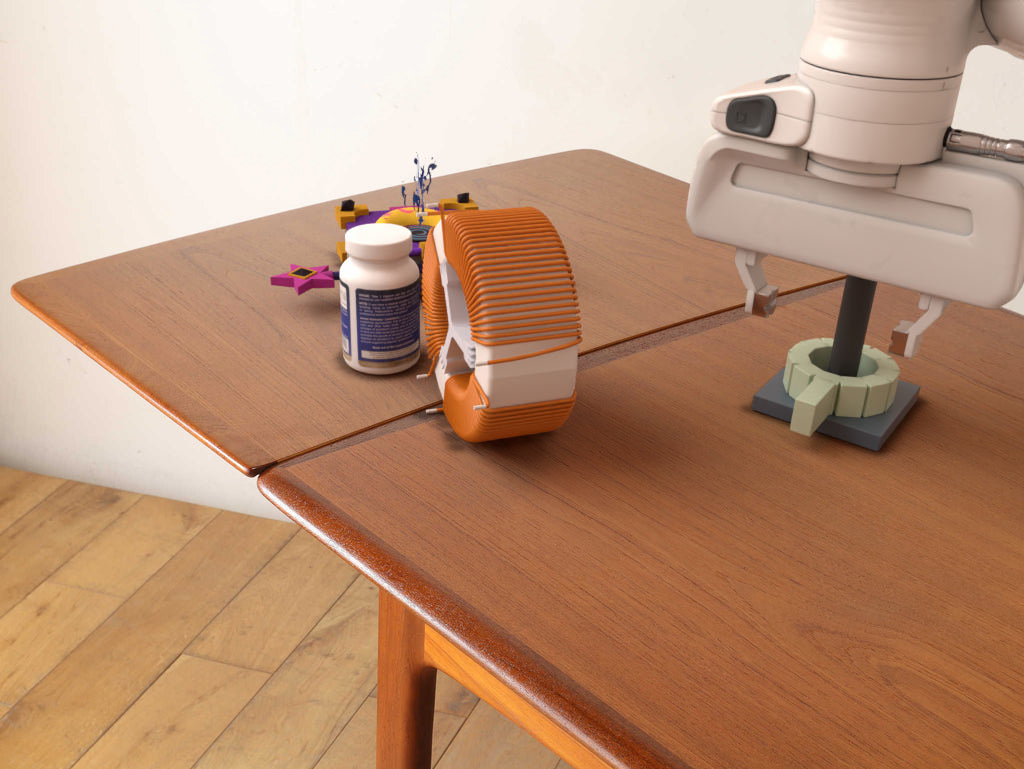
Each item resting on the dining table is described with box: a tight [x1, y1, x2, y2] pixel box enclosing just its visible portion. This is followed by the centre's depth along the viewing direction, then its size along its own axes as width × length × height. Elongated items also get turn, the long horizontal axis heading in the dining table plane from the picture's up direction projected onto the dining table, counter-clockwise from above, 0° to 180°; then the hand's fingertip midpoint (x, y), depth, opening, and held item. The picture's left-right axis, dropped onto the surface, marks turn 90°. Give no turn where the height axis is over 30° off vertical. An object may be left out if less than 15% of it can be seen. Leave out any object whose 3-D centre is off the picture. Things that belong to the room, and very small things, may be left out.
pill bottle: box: [339, 223, 421, 375], centre depth 76 cm, size 6×6×10 cm
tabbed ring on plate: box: [783, 337, 901, 438], centre depth 72 cm, size 7×11×2 cm
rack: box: [751, 274, 922, 452], centre depth 72 cm, size 9×9×11 cm
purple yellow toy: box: [269, 151, 480, 298], centre depth 90 cm, size 15×25×12 cm, turn 108°
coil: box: [416, 202, 584, 444], centre depth 67 cm, size 7×15×15 cm, turn 20°
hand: (829, 332), depth 67 cm, fingers open, 8 cm apart
